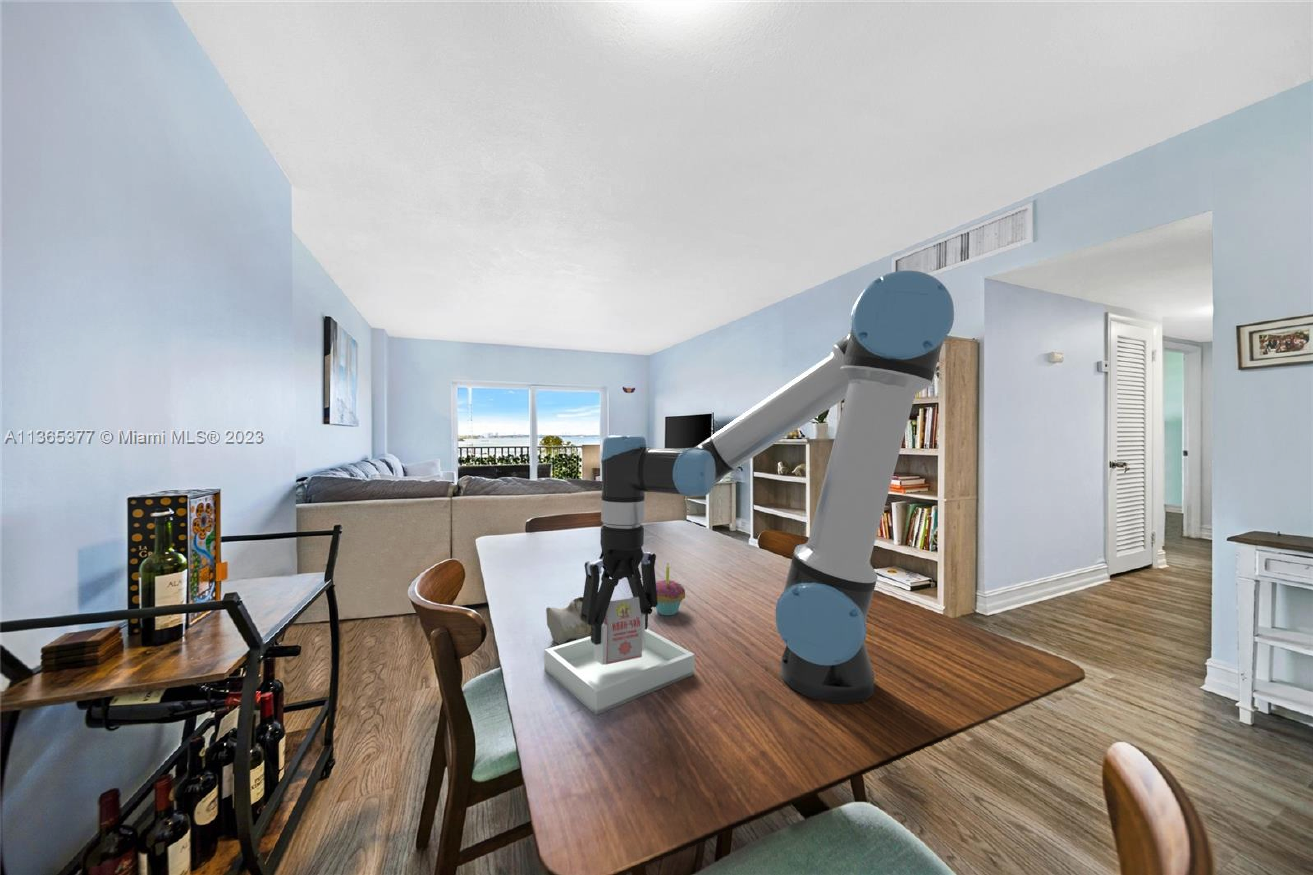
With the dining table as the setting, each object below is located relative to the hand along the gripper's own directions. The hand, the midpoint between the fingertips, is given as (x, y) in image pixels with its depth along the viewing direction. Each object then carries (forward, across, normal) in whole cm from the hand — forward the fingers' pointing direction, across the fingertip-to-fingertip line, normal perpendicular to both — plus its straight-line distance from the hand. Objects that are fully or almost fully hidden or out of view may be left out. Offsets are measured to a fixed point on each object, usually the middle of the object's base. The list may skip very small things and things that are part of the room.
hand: (619, 654), depth 84 cm
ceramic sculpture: (+3, -2, -16) cm, 16 cm away
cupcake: (+3, -25, -17) cm, 30 cm away
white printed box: (+1, 0, 0) cm, 1 cm away
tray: (+3, 0, 0) cm, 3 cm away
